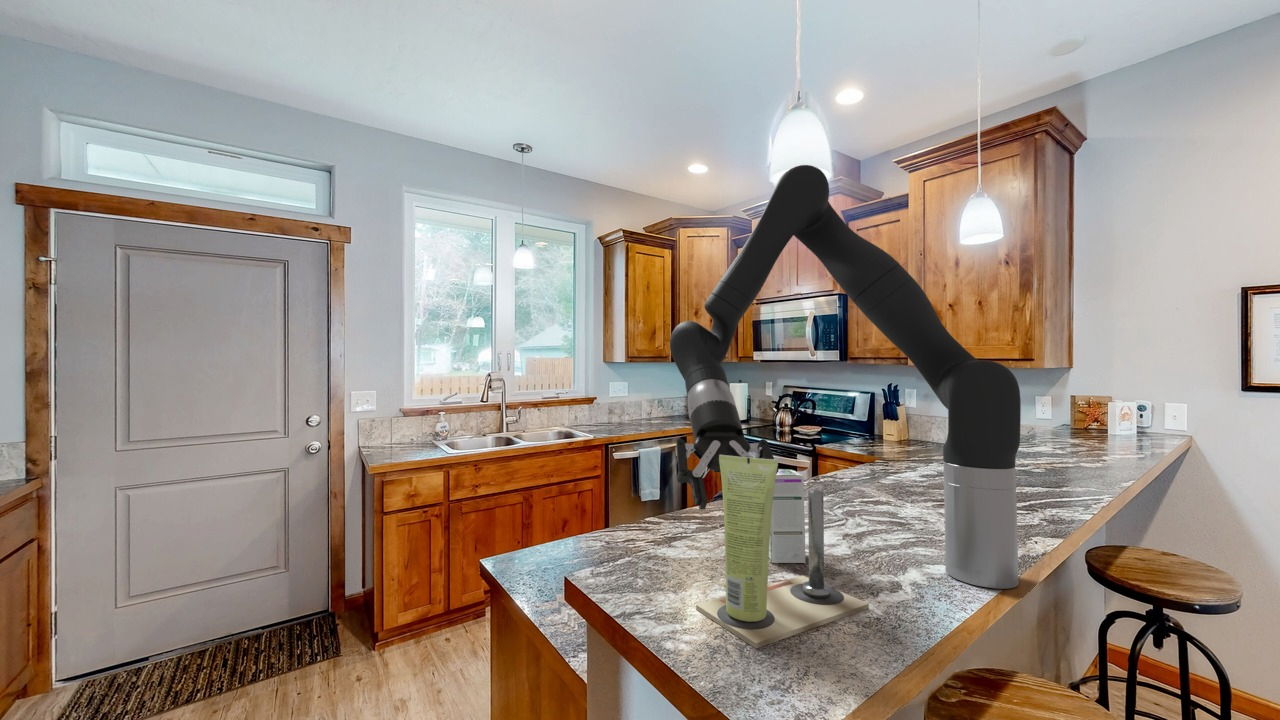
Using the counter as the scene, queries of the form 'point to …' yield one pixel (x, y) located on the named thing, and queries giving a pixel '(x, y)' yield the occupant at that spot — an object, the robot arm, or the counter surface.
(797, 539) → the syrup box
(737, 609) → the tube
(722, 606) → the board
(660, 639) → the counter surface
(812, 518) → the fixed peg
